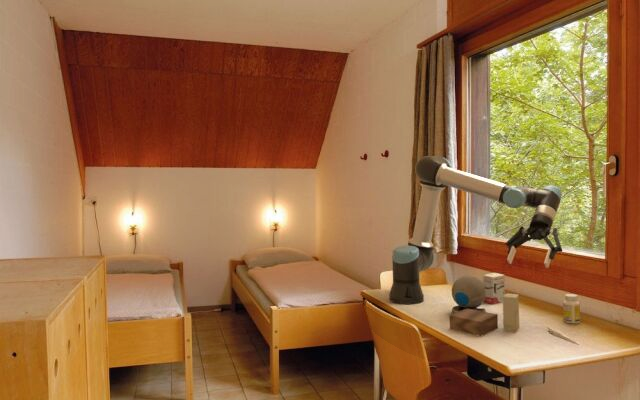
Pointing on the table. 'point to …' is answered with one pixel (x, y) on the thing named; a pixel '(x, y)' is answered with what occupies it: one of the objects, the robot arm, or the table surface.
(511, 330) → the skincare box
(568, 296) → the supplement bottle
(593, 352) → the table surface
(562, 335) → the beige slender tapered piece
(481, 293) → the webcam
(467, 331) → the walnut plinth
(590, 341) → the table surface
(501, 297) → the ink box
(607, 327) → the table surface
